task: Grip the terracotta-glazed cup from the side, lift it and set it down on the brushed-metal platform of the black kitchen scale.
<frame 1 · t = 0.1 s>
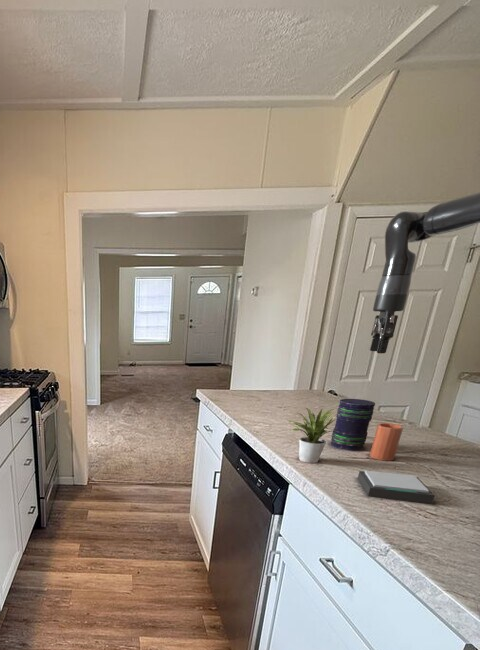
hand: (377, 352, 122), 30 cm above the countertop, tool pointing down, fingers open, 8 cm apart
house plant: (308, 459, 123), on the countertop
cup: (381, 457, 123), on the countertop
scale: (392, 490, 101), on the countertop
storage jar: (346, 446, 134), on the countertop
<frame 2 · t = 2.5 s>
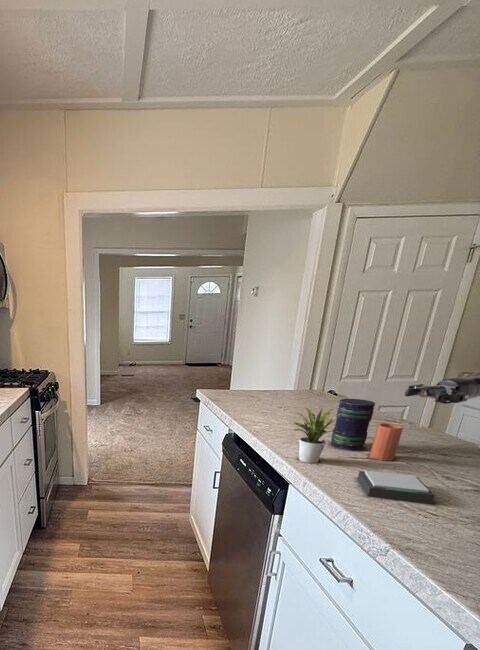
hand: (421, 395, 120), 18 cm above the countertop, tool horizontal, fingers open, 8 cm apart
nothing on the countertop moved.
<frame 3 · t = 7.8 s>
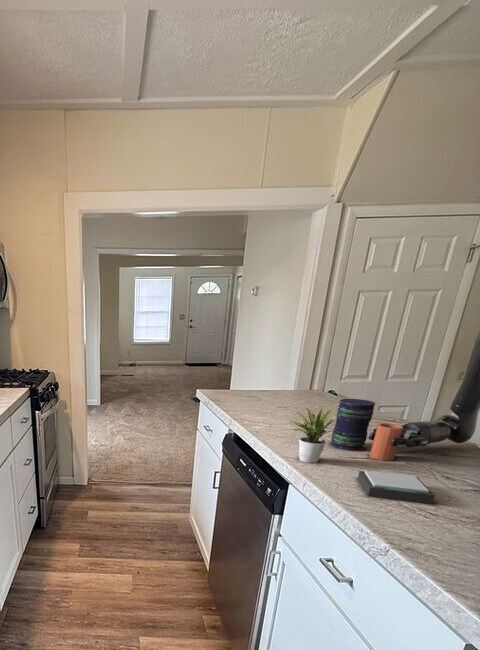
hand: (381, 439, 120), 6 cm above the countertop, tool horizontal, fingers closed on cup, 6 cm apart
cup: (381, 457, 123), on the countertop, touching gripper
everything else where it was.
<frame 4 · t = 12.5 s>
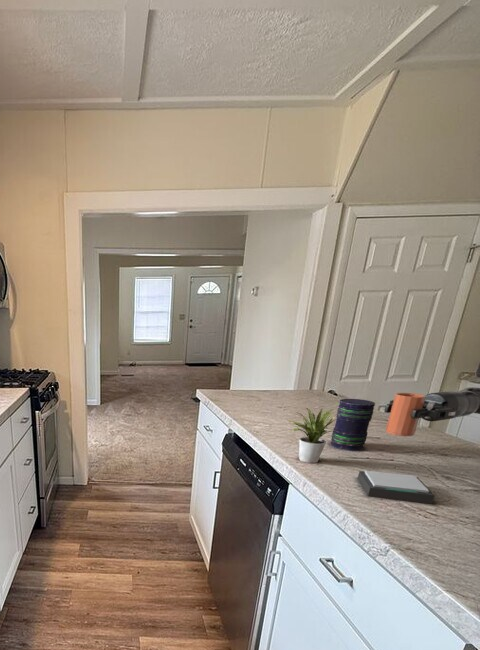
hand: (399, 411, 103), 18 cm above the countertop, tool horizontal, fingers closed on cup, 6 cm apart
cup: (399, 433, 106), point 12 cm above the countertop, touching gripper
everything else where it was.
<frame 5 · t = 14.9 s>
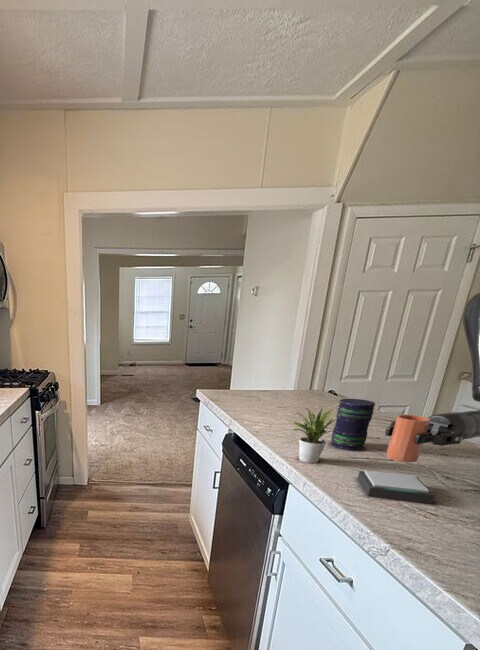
hand: (401, 435, 94), 15 cm above the countertop, tool horizontal, fingers closed on cup, 6 cm apart
cup: (401, 458, 97), point 9 cm above the countertop, touching gripper
everything else where it was.
when the fingers open (9 cm above the countertop, at t = 17.1 s): cup stays where it is, resting on scale.
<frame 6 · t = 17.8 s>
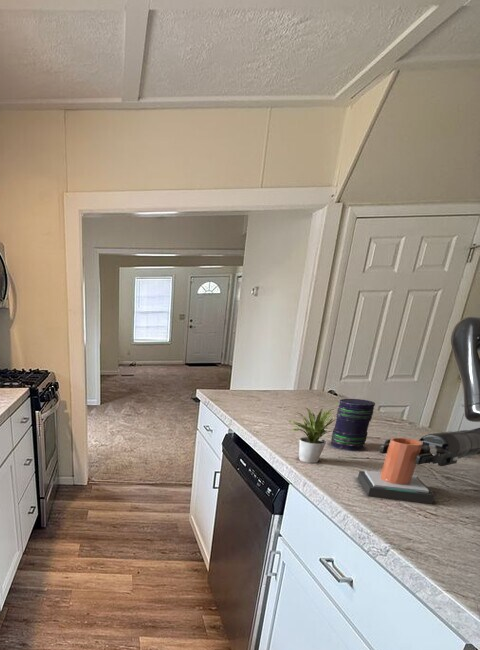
hand: (398, 454, 96), 10 cm above the countertop, tool horizontal, fingers open, 8 cm apart
cup: (394, 479, 100), point 3 cm above the countertop, touching scale
everything else where it was.
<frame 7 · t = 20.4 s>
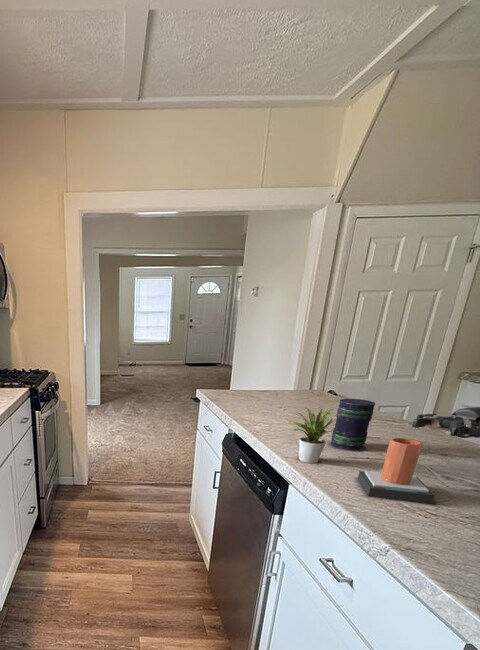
hand: (433, 427, 97), 15 cm above the countertop, tool horizontal, fingers open, 8 cm apart
nothing on the countertop moved.
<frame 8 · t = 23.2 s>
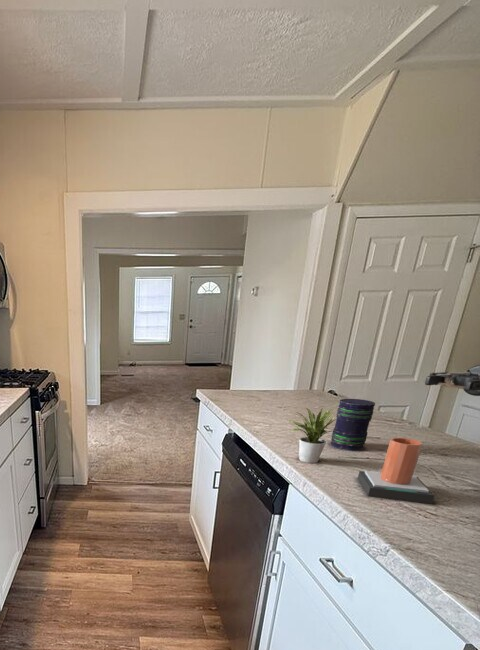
hand: (447, 383, 93), 26 cm above the countertop, tool horizontal, fingers open, 8 cm apart
nothing on the countertop moved.
at the end: cup inside the target area on the scale (0.1 cm from its centre), point 2.8 cm above the scale's base; cup tilted 0°; the gripper is holding nothing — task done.
